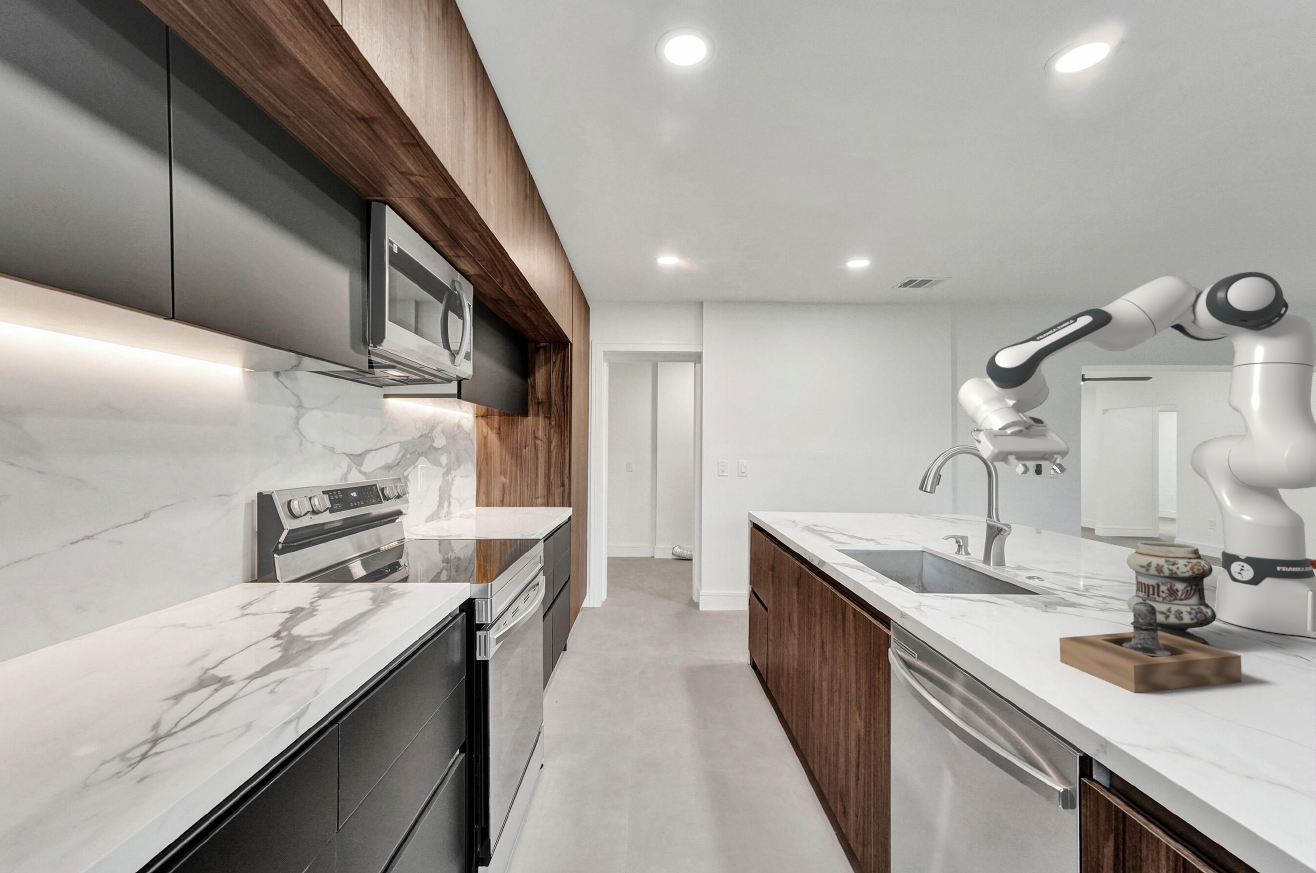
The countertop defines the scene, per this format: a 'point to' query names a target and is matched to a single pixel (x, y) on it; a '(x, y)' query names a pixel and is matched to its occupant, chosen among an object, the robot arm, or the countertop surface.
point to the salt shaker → (1145, 631)
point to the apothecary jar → (1173, 586)
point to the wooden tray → (1150, 662)
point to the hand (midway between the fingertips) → (1043, 471)
